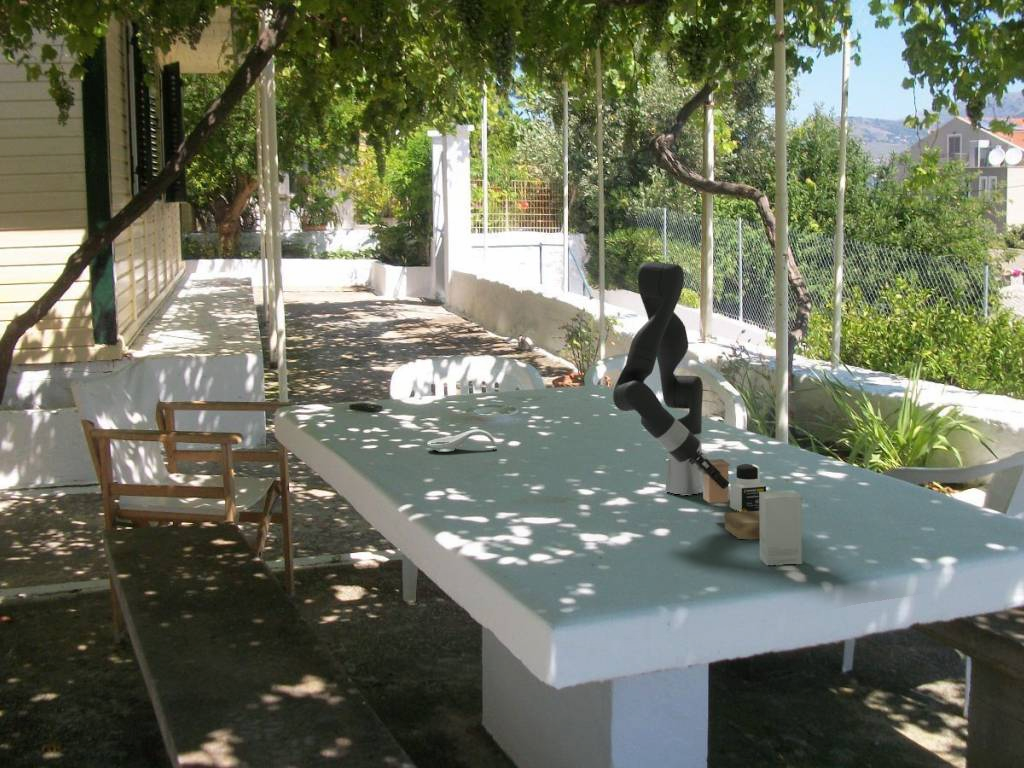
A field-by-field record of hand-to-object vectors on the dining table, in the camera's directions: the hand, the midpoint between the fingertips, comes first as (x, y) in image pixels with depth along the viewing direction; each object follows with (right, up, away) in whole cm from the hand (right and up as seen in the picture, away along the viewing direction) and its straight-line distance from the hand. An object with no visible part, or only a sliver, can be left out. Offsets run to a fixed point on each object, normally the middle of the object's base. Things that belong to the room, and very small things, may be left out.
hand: (722, 483), depth 303 cm
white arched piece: (-71, +2, +108) cm, 129 cm away
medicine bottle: (+9, -8, +12) cm, 17 cm away
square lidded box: (-2, -4, 0) cm, 5 cm away
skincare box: (+6, -14, -39) cm, 42 cm away
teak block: (+5, -11, -13) cm, 18 cm away
